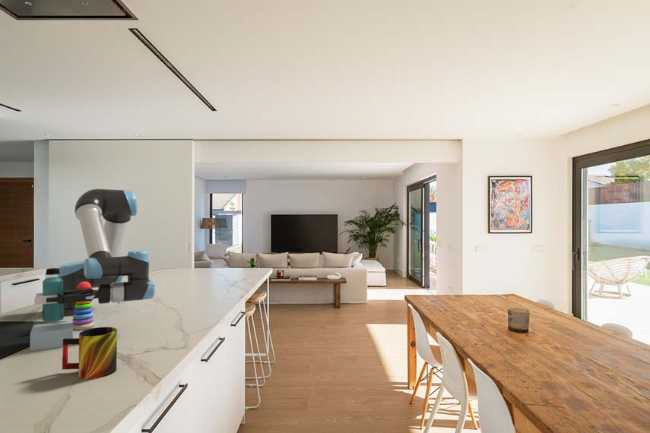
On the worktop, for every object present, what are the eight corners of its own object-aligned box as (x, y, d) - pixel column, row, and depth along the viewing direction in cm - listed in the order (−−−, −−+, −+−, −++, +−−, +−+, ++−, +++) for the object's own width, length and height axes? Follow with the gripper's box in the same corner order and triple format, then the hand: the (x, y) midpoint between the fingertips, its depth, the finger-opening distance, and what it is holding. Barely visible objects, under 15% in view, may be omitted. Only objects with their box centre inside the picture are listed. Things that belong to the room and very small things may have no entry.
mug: (62, 372, 115) (62, 331, 115) (115, 364, 122) (116, 325, 122) (59, 384, 107) (60, 340, 107) (117, 374, 114) (117, 333, 114)
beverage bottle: (68, 322, 143) (68, 267, 143) (50, 327, 136) (50, 269, 137) (55, 321, 145) (55, 266, 145) (36, 325, 139) (37, 268, 139)
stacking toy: (83, 331, 156) (83, 283, 156) (66, 329, 158) (66, 283, 158) (98, 325, 164) (98, 280, 164) (81, 324, 165) (82, 280, 166)
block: (72, 336, 149) (72, 320, 149) (72, 345, 139) (72, 328, 139) (33, 341, 143) (33, 325, 143) (30, 351, 132) (30, 333, 132)
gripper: (112, 307, 142) (32, 315, 130) (108, 298, 158) (37, 304, 146) (112, 286, 142) (32, 292, 130) (108, 279, 158) (37, 284, 146)
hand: (35, 299), depth 138 cm, fingers closed on beverage bottle, 6 cm apart
